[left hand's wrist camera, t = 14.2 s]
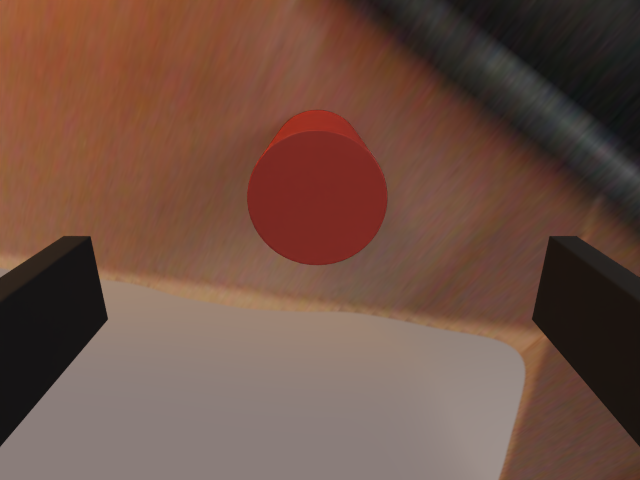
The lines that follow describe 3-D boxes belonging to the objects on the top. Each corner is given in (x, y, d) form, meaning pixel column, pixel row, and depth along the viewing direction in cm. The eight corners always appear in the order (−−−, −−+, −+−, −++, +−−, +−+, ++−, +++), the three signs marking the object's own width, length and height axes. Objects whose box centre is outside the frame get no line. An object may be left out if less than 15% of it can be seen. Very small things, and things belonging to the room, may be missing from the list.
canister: (259, 180, 34) (228, 237, 22) (291, 94, 32) (276, 105, 20) (340, 212, 35) (352, 283, 23) (377, 131, 33) (411, 163, 21)
